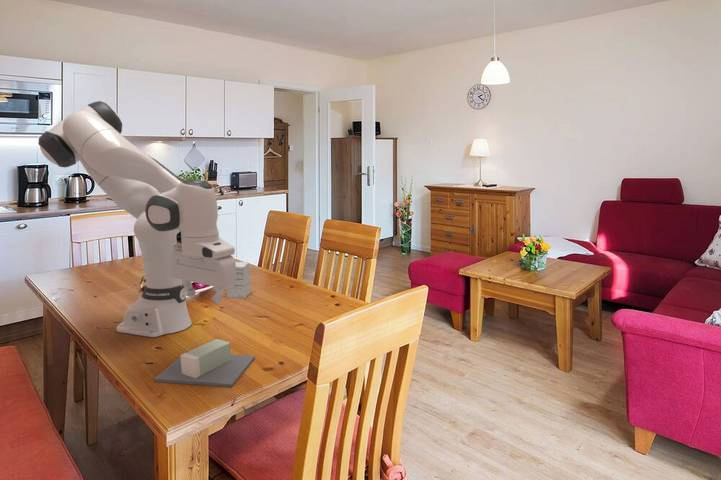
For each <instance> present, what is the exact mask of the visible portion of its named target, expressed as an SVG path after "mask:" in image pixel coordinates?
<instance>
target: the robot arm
mask: <svg viewBox="0 0 721 480" xmlns="http://www.w3.org/2000/svg"><path fill="white" fill-rule="evenodd" d="M122 131H123V122H122V121H121V117H120V115H119V114H118V112H117V111H116V110H115V109H114V108H113V107H112V106H111V105H109V104H107V103H106V102H104V101H101V100H98V101H93V102H91V103H88V104H87V106H84V107H83V108H80V109H78V110H77V111H74V112H72V113H70V114H69V115H67V116H66V118H65V117H64V119H63V120H62V119H61V121H60V122H58V123H57V124H55V125H53V126H52V127H51V128H50V129H49V130H48V131H47V130H46V131H44V133H42V134H41V135H40V136H39V138H38V146H39V148H40V151H41V153H42V155H43V156H44V157H45V159H46V160H48V161H49V162H51V164H54V165H56V166H58V167H59V168H65V169H66V168H69V167H72V166H74V165H76V164H77V163H78V162H80V163H81V165H82V167H83V168H84V170H85V171H86V172H87V174H88V175H89V176H90V177H91V179H92V181H94V182H95V184H96V185H97V186H98V187H99V188H100V189H101V190H102V191H103V192H104V193H105V194H106V196H108V198H110V200H111V201H112V202H114V204H115V205H116V206H117V207H118V208H120V209H122V210H123V211H125V212H127V213H129V214H130V215H131V216H133V218H135V219H136V220H135V223H134V224H133V234H134V235H135V236H134V237H135V238H136V239H137V241H138V245H139V248H140V252H141V256H142V259H143V264H144V274H145V276H144V277H145V285H143V286H141V287H140V288H138V293H142V294H141V297H140V298H138V299H137V300H136V301H134V302H133V303H132V304H131V305H130V306H128V307H127V308H126V310H125V312H124V315H123V321H122V322H120V323H119V324H117V327H116V332H118V333H123V334H130V335H135V336H141V337H149V338H156V337H160V336H163V335H168V334H174V333H177V332H181V331H184V330H186V329H188V328H189V327H191V325H192V324H193V322H192V319H191V317H190V314H189V310H188V306H187V301H186V300H187V297H189V298H193V297H195V296H196V289H195V288H194V287H193V284H192V283H197V284H202V285H205V286H206V285H207V286H211V287H213V288H214V289H213V290H214V291H215V293H214V295H211V299H212V300H211V301H212V303H214V304H220V303H222V301H223V300H222V295H223V293H224V291H225V289H227V288H229V287H232V286H234V285H235V283H236V281H237V274H236V263H235V262H236V259H235V258H234V256H233V255H235V251H236V249H235V247H234V246H233V245H232V244H230V243H228V242H227V241H226V240H224V239H222V238H221V237H220V235H219V234H220V233H219V229H218V224H217V222H218V219H219V218H218V217H219V213H218V202H217V195H216V194H217V193H216V191H215V188H214V186H213V185H212V184H211V183H209V182H207V181H204V180H200V179H199V180H198V179H185V180H183V179H181V178H180V177H178V176H177V175H176V174H175V173H173V172H172V171H171V170H170V169H168V168H167V167H166V166H165V165H163V164H162V163H161V162H159V161H158V160H157V159H155V158H154V157H152V156H150V155H149V154H147V153H146V152H144V151H143V150H141V149H140V148H138V147H137V146H136V145H135V144H132V143H131V141H129V140H128V139H127V138H125V137H124V136H123V135H122ZM179 233H180V238H181V240H180V241H181V242H178V240H177V236H178V234H179Z"/></svg>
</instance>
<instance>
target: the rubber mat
mask: <svg viewBox="0 0 721 480" xmlns="http://www.w3.org/2000/svg"><path fill="white" fill-rule="evenodd" d="M186 352H187V351H185V352H184V353H186ZM255 359H256V356H255V355H245V354H232V353H231V360H230V361H228V362H226V363H224V364H222V365H221V366H219V367H217V368H215V369H213V370H211V371H209V372H207V373H205V374H203V375H201V376H199V377H197V378H193V377H190V376H187V375H184V374H182V370H181V357H180V356H179V357H178V358H176V359H175V360H174V361H172V363H171V364H169V366H167V367H166V368H165V369H164V370H163V371H162V372H161V373H158V375H157V376H156V377H154V382H155V383H167V384H181V385H182V384H184V385H195V386H196V385H197V386H212V387H224V388H233V387H234V386H235V384H236V382H237V381H239V379H240V378H241V377H242V375H243V374H244V373H245V371H247V369H248V368H249V367H250V365H251V364H252V363H253V362H254V361H255Z"/></svg>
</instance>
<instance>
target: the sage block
mask: <svg viewBox="0 0 721 480" xmlns="http://www.w3.org/2000/svg"><path fill="white" fill-rule="evenodd" d="M185 352H186V353H185ZM185 352H184V353H182V354H180V356H179V357H181V370H182V374H184V375H187V376H190V377H193V378H197V377H199V376H201V375H203V374H205V373H207V372H209V371H211V370H213V369H215V368H217V367H219V366H221V365H222V364H224V363H226V362H228V361H230V360H231V354H232V350H231V342H230V341H226V340H223V339H218V338H216V339H214V340H211V341H209V342H207V343H205V344H202V345H200V346H197V347H195V348H193V349H191V350H189V351H185Z"/></svg>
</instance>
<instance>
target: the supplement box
mask: <svg viewBox="0 0 721 480" xmlns="http://www.w3.org/2000/svg"><path fill="white" fill-rule="evenodd" d="M235 263H236V274H237V281H236V283H235V285H234V286H232V287H229V288H226V293H227V296H226V297H227V298H230V299H231V298H232V299H233V298H234V299H246V298H247V297H248V296H249V295H250V294H251V293H252V291H251V290H252V288H251V268H250V267H251V266H250V262H247V261H235Z"/></svg>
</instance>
